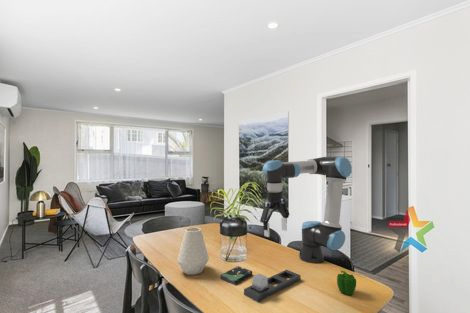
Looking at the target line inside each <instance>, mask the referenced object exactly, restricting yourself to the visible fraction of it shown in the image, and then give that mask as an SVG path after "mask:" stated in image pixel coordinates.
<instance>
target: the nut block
mask: <svg viewBox="0 0 470 313" xmlns="http://www.w3.org/2000/svg"><path fill="white" fill-rule="evenodd" d="M251 277H252V279H251V280H252V281H251V282H252V283H251V284H252V285H251V286H252V289H253V290H254V291H256V292H258V293H262V292H264V291H266V290H268V278H269V277H268V276H266V275H264V274H261V273H257V274H255V275H252V276H251Z"/></svg>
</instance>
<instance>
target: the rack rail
mask: <svg viewBox="0 0 470 313" xmlns="http://www.w3.org/2000/svg"><path fill="white" fill-rule="evenodd" d="M286 278H288V279H286ZM300 281H301V274H299V273H296V272H293V271H291V270H289V269H285V270H283V271H280V272H279V273H276V274H273V275H272V276H270V277H268V290H266V291H264V292H262V293H258V292H256V291H254V290H253V289H252V285H250V286H248V287H245V288H243V295H244V296H246V297H248V298H249V299H251V300H253V301H255V302H256V303H260V302H262V301H263V300H266V299H268V298H270V297H272V296H273V295H275V294H277V293H279V292H281V291H283V290H285V289H286V288H288V287H290V286H292V285H294V284H295V283H298V282H300ZM272 283H273V284H276V285H273V284H272Z"/></svg>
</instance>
